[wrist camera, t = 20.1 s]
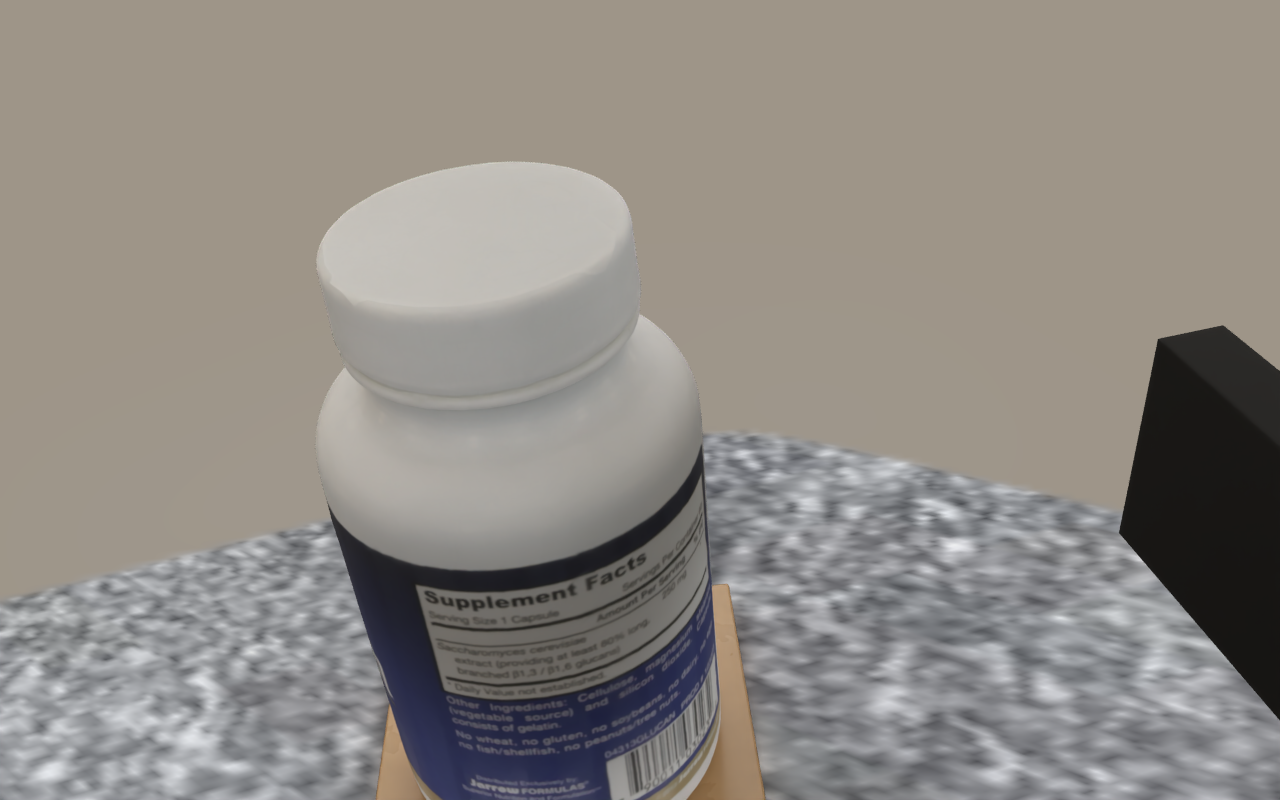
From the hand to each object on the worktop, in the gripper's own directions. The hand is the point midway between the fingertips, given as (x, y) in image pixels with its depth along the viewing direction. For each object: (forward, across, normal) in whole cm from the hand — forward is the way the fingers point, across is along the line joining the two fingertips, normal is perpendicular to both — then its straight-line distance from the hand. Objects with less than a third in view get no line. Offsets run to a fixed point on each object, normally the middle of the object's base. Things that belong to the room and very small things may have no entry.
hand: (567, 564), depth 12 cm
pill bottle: (+4, 0, -8) cm, 9 cm away
